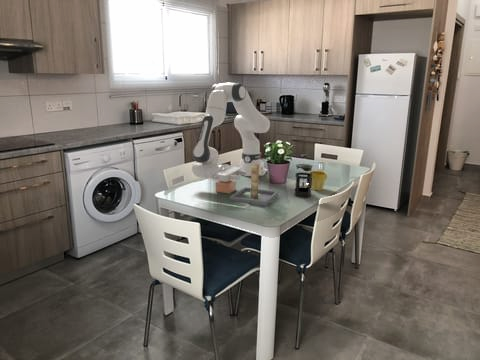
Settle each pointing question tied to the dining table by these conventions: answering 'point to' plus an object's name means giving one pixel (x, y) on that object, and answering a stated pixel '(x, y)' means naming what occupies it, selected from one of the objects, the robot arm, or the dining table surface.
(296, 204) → the dining table surface
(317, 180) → the yellow cup
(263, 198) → the charcoal tray
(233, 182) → the salmon square socket block
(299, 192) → the french press
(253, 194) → the wooden block tower
